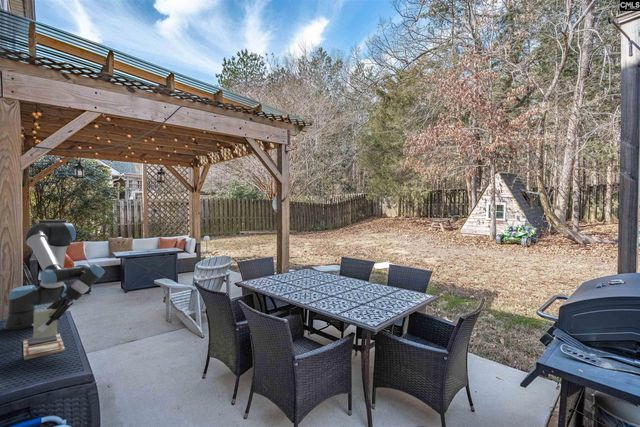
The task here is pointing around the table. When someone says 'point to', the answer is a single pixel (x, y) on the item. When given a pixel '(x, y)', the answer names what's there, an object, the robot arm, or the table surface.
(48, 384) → the table surface
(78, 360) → the table surface
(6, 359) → the table surface
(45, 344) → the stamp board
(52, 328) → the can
